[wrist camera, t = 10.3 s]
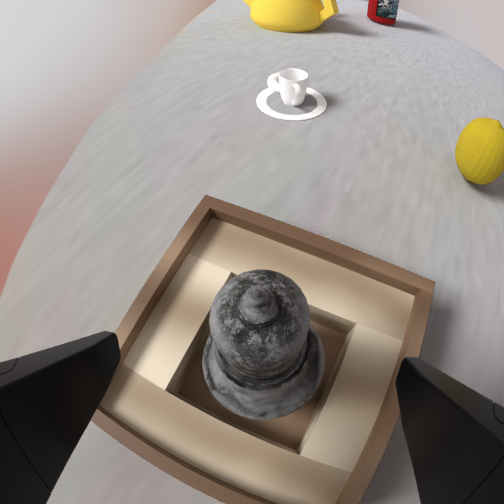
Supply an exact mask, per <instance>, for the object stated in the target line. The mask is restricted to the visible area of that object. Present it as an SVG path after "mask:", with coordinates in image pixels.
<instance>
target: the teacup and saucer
mask: <svg viewBox="0 0 504 504" xmlns="http://www.w3.org/2000/svg"><path fill="white" fill-rule="evenodd" d="M278 82H279V83H278ZM267 83H268V86H269V88H267V89H265V90H263V91H262V92H261V93H260V94H259V95H258V97H257V100H256V102H257V106H258V107H259V109H260V110H261V111H263V112H264V113H266V114H267V115H269V116H272V117H275V118H278V119H283V120H291V121H300V120H308V119H312V118H315V117H317V116H319V115H321V114H322V113H323V112H324V111H325V110H326V107H327V102H326V100H325V98H324V97H323V96H322V95H321V94H320V93H319V92H317V91H315V90H313V89H311V88H308V87H307V83H308V74H307V73H306V72H305V71H303V70H300V69H294V68H290V69H284V70H282V71H280V72H279V73H275V74H272V75H271V76H270V77H269V78H268V81H267ZM273 92H277V93H281V98H282V100H283V102H284V103H285V104H286V105H289V106H299V105H301V104H302V102H303V101H304V98H305V95H306V92H307V93H309V94H311V95H312V96H313V97H314V98H315V99H316V100H317V107H316V109H315V110H313V111H312V112H310V113H307V114H303V115H286V114H281V113H278V112H276V111H274V110H272V109H271V108H269V107H268V105H267V104H266V99H267V97H268V96H269V95H270V94H271V93H273Z"/></svg>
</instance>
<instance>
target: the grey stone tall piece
mask: <svg viewBox="0 0 504 504" xmlns="http://www.w3.org/2000/svg"><path fill="white" fill-rule="evenodd" d="M209 325H210V332H211V333H210V334H209V337H208V339H207V342H206V344H205V347H204V352H203V360H202V365H203V371H204V378H205V380H206V382H207V385H208V387H209V389H210V391H211V393H212V394H213V395H214V396H215V398H216V399H217V400H218V401H219V402H220V403H221V405H223V406H224V407H226V408H227V409H229V410H230V411H232V412H233V413H235V414H237V415H240V416H243V417H246V418H249V419H259V420H270V419H275V418H280V417H284V416H286V415H288V414H290V413H292V412H294V411H296V410H298V409H300V408H301V407H302V406H303V405H304V404H305V403H306V402H308V401H309V400H310V399H311V398H312V396H313V395H314V393H315V391H316V390H317V388H318V387H319V385H320V383H321V379H322V376H323V372H324V364H325V353H324V350H323V346H322V342H321V339H320V337H319V335H318V334H317V332H316V330H315V329H314V327H313V326H312V325H311V324H310V310H309V306H308V303H307V299H306V297H305V295H304V294H303V292H302V290H301V288H300V287H299V286H298V285H297V284H296V283H295V282H294V281H293V280H292V279H290V278H289V277H287V276H285V275H283V274H282V273H279V272H276V271H272V270H263V269H256V270H251V271H246V272H243V273H241V274H239V275H237V276H235V277H233V278H232V279H230V280H229V281H228V282H227V283H225V284H224V285H223V286H222V288H221V289H220V290H219V292H218V293H217V294H216V296H215V298H214V301H213V303H212V305H211V311H210V318H209Z"/></svg>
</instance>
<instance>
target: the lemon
mask: <svg viewBox="0 0 504 504" xmlns="http://www.w3.org/2000/svg"><path fill="white" fill-rule="evenodd" d="M455 156H456V163H457V165H458V168H459V170H460V172H461V173H462V174H463V176H464V177H465V179H466V180H467V181H471V182H473V183H476V184H488V183H491V182H493V181H494V180H496V179H497V178H498V177H499V176H500V175H501V174H502V172H503V171H504V128H503V127H502V125H501V122H500V121H499V120H497V119H495V120H493V119H490V118H484V117H483V118H477V119H474V120H473V121H471V122H470V123H469V124H468V125H467V126H466V127H465V128H464V130H463V131H462V133H461V134H460V136H459V139H458V142H457V145H456V150H455Z"/></svg>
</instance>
